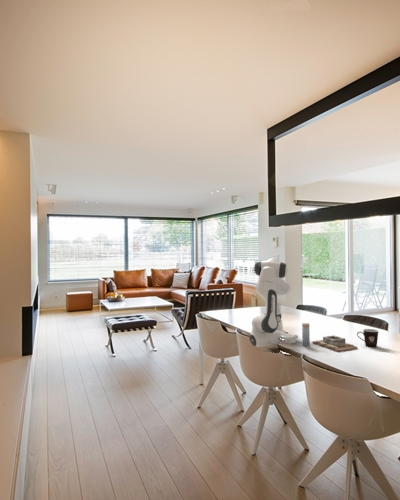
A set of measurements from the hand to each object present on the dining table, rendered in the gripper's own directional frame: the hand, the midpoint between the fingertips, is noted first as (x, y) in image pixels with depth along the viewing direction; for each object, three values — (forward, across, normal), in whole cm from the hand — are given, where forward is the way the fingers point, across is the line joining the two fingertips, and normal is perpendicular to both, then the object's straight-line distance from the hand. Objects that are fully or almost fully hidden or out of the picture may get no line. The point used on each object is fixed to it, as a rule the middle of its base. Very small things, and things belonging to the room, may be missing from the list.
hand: (292, 334), depth 214 cm
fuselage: (+11, 0, +8) cm, 14 cm away
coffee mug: (+46, -18, +8) cm, 50 cm away
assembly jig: (+26, -9, +8) cm, 29 cm away
